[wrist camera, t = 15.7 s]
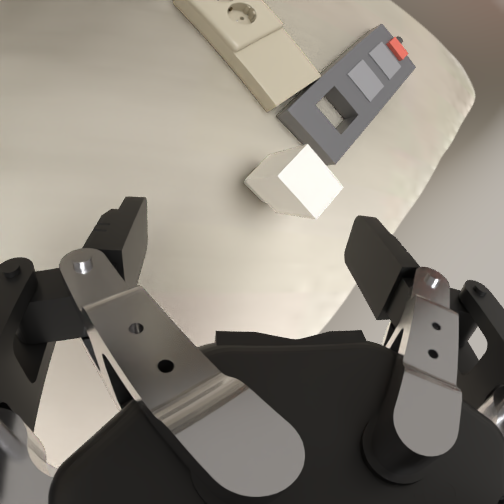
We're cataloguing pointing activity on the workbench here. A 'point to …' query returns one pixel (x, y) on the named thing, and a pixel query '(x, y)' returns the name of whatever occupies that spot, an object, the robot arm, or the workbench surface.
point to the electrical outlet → (253, 46)
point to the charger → (294, 182)
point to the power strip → (349, 94)
